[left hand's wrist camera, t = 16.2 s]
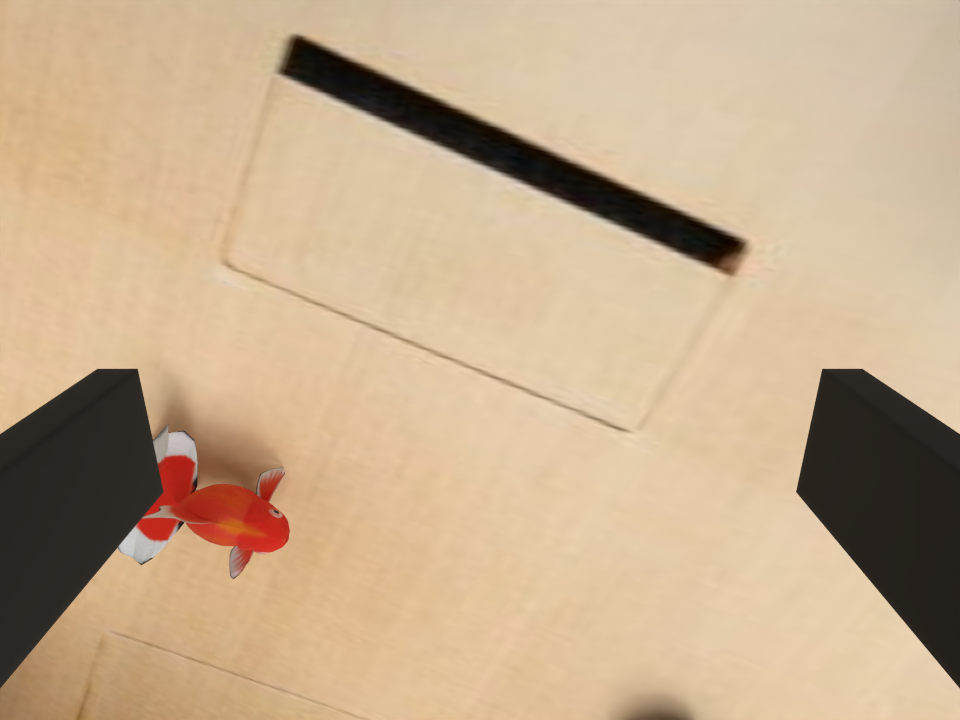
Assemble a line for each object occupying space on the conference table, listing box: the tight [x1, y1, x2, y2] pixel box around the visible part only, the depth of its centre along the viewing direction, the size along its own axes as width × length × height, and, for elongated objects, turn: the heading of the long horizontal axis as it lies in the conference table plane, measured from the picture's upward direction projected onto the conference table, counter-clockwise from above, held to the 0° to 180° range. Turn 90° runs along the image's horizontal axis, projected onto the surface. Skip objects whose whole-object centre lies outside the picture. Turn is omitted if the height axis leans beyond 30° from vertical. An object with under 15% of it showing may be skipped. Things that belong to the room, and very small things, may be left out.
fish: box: [117, 425, 290, 579], centre depth 45 cm, size 11×16×10 cm
